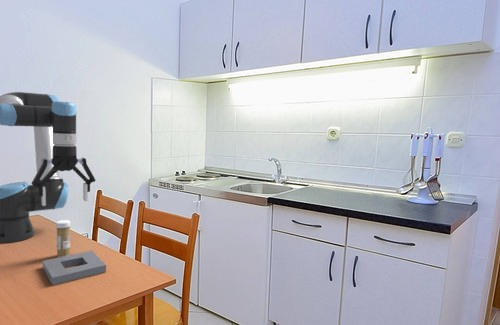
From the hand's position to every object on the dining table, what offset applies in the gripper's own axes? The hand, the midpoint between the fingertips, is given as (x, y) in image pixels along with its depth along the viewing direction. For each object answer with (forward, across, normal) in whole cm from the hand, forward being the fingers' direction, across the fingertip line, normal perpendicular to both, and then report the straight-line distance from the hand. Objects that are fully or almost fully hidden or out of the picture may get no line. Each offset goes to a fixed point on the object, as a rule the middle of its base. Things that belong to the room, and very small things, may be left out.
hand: (65, 202), depth 119 cm
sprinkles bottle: (+21, 0, +2) cm, 21 cm away
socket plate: (+21, 0, -13) cm, 24 cm away
